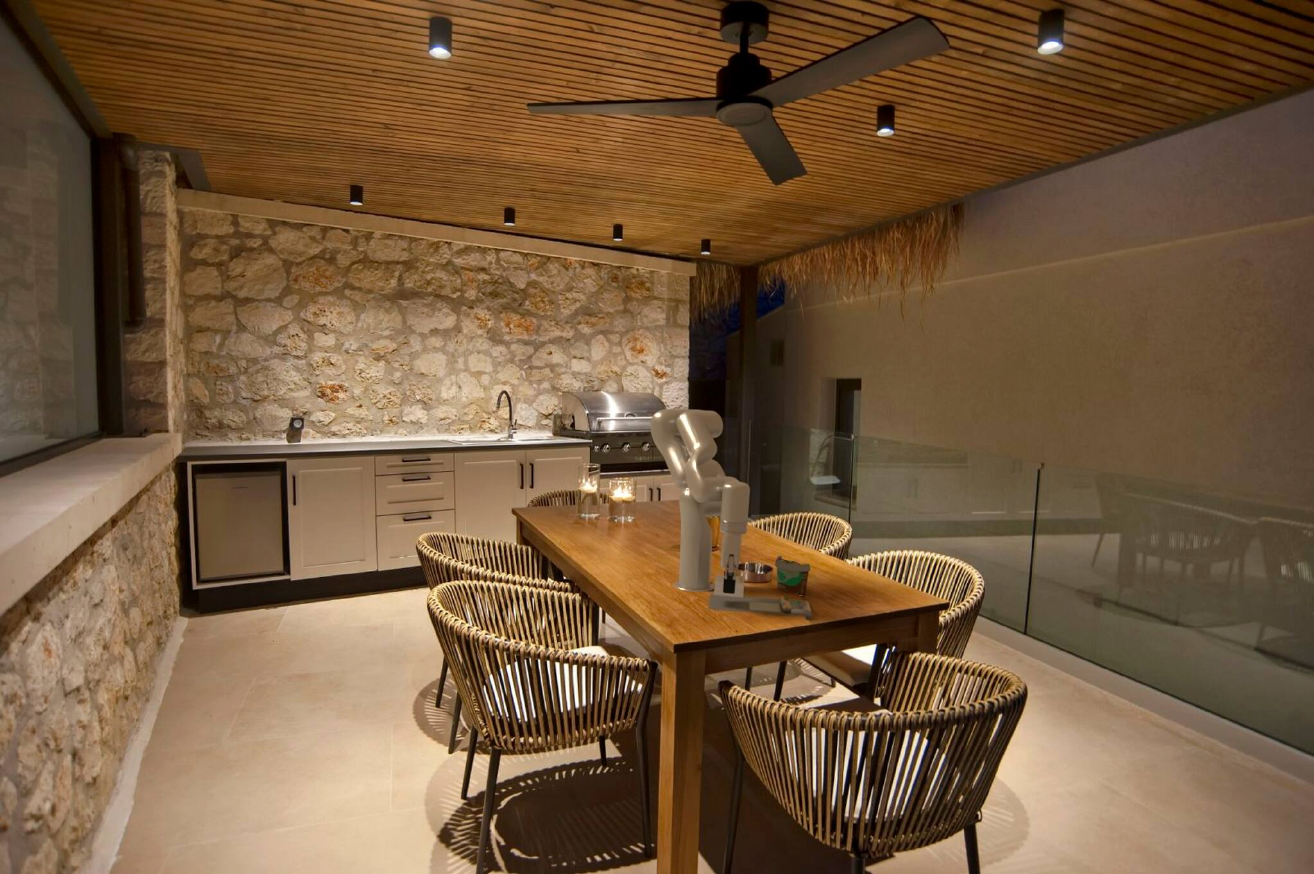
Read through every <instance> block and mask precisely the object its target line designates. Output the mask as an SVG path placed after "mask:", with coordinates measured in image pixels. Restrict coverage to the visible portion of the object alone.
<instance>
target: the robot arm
mask: <svg viewBox="0 0 1314 874" xmlns="http://www.w3.org/2000/svg"><path fill="white" fill-rule="evenodd" d="M722 419H723V418H722V417H721V415H720V414H718V413H717V412H716V411H714V410H703V409H683V408H682V409H681V408H680V409H679V408H668V409H666V408H665V409H660V410H659V411H656V412H655V413H654V414H653V415H652V417H651V419H650V433H651V434H650V435H651V437H652V440H653V443H654V444H655V446H656V448H657V449H658V451H659V452H660V453H661V455H662V457H663V458H664V461H665V464H666V466H667V468H668V470H669V473H670V475H671V478H672V479H673V481H674V484H675V485H676V487H678V488H680V489H682V490H681V491H680V493H679V497H678V506H679V507H678V508H679V513H680V546H679V547H680V549H679V550H680V551H679V552H680V553H679V572H678V573H679V575H678V580H676V581H675V582H673V587H675V588H676V589H678V590H682V591H686V592H695V593H702V592H709V591H712V590H714V588H715V583H713V582H711V577H712V576H711V571H712V551H713V549H712V547H713V545H712V544H713V530H712V527H711V525H710V523H708V520H707V518H710V517H720V519H719V521H720V522H719V531H720V532H721V533H722V538H721V550H720V551H721V553H720V568H721V569H723V568H724V569H725V570H724V571H723V575H725V578H724V585H723V593H730V594H734V593H735V581H736V579H735V576H736V570H738V569H739V565H740V560H741V559H740V557H741V551H742V540H743V539H742V538H743V535H746V534H747V532H748V519H749V518H748V517H749V507H750V506H749V505H750V493H751V487H750V486H749V484H748V483H745V482H742V481H739V480H738V479H737V478H736V477H733V476H726V474H725V471H724V470H723V468H722V466H721V464H719V462H718V461H716V460H714V459H713V458H714V457H715V455H716V454H717V452H718V446H717V443H716V442H715V440H714V439H715V438H718V437H720V435H722V433H723V429H724V423H723V420H722ZM677 436H680V437H681V439H682V440H681V439H680V438H679V437H677Z"/></svg>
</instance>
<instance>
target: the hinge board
mask: <svg viewBox="0 0 1314 874" xmlns="http://www.w3.org/2000/svg"><path fill="white" fill-rule="evenodd" d="M780 600H781V598H772V597H758V596H757V597H756V596H755V597H753V596H744V595H743V598H742V597H731V596H721V595H714V593H713V594H711V593H710V594H709V602H708V608H707V609H708V610H714V611H716V610H717V611H718V610H719V611H728V612H745V613H756V614H757V613H758V614H759V613H760V614H770V615H771V614H772V615H784V616H786V615H787V616H798V617H799V616H801V617H802V616H803V617H805V620H808V621H809V620H810V621H812V620H813V614H812V612H811V615H804V614H791V612H790V613H784V612H783V610H782V605H781V601H780ZM789 601H803V602H808V600H799V599H789Z"/></svg>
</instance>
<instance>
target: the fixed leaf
mask: <svg viewBox="0 0 1314 874" xmlns="http://www.w3.org/2000/svg"><path fill="white" fill-rule="evenodd" d="M780 599H781V600H780V601H781V605H782V610H783V612H784V613H790V612H791V614H804V615H811V613H812V609H811V607H810V606H811V605H810V603H809V602H808V601H807V602H803V601H804V600H802V601H789V600H790V598H789V597H788V596H786V595H782V596H781V597H780Z"/></svg>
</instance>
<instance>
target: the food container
mask: <svg viewBox="0 0 1314 874" xmlns="http://www.w3.org/2000/svg"><path fill="white" fill-rule="evenodd" d="M774 566H775V567H776V580H777V585H776V586H777V587H776V588H777V589H778V590H780V591H782V592H784V593H789V594H797V596H798V597H800V596H799V595H805V596H807V595H806V594H807V585H808V578H809V572H810V571H811V566H810V563H805V564H804V563H802V564H801V563H799V562H797V561H794V560H788V559H784V558H783V557H782V555H779V556H777V557H776V559H775V561H774Z"/></svg>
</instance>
